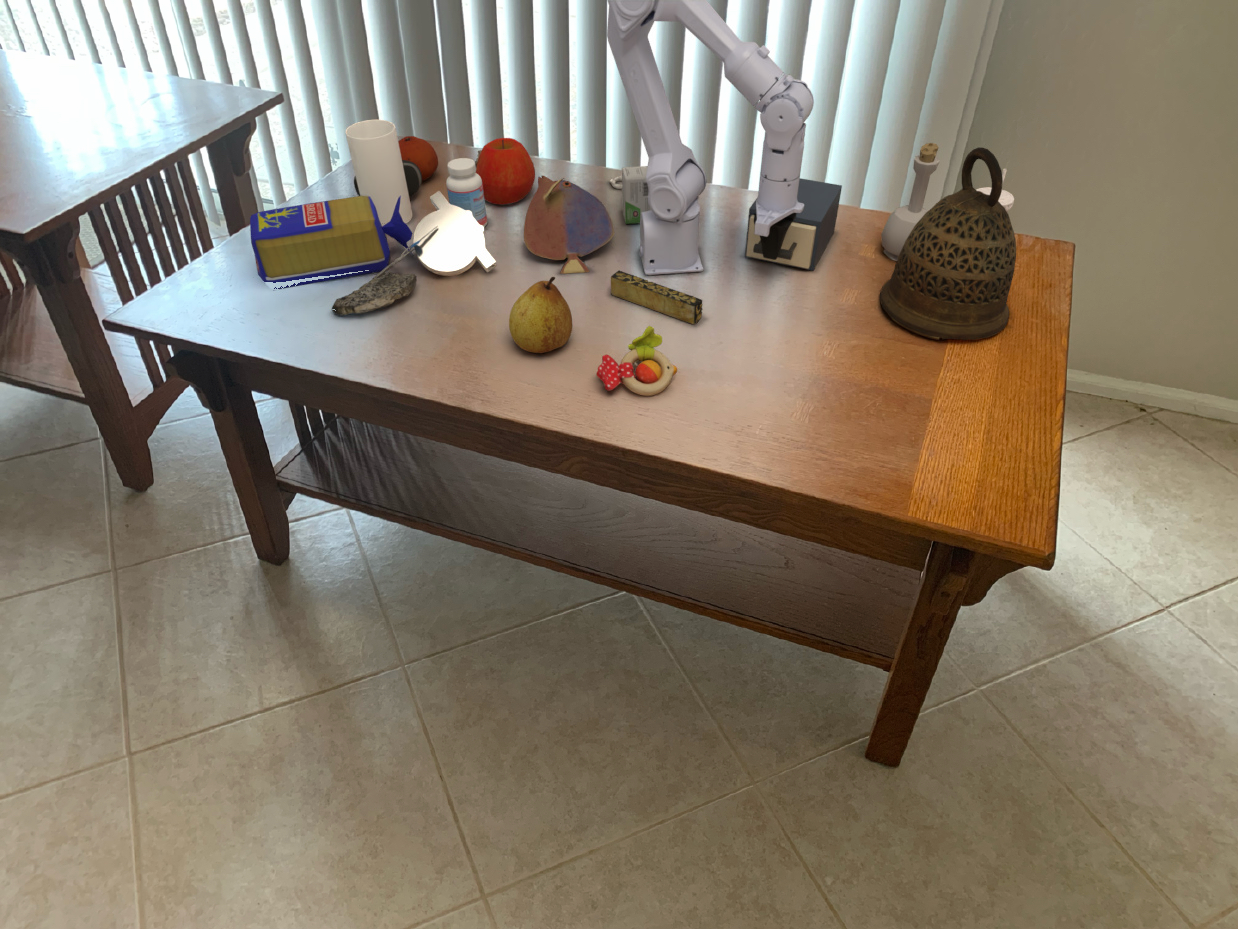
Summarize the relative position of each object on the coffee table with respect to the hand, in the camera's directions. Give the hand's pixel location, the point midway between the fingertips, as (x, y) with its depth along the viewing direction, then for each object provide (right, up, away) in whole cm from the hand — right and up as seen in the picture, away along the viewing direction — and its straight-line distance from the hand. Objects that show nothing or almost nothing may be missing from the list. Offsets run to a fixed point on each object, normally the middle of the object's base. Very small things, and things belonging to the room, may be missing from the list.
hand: (770, 257), depth 133 cm
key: (-20, +19, +26) cm, 38 cm away
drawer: (+4, +3, +8) cm, 10 cm away
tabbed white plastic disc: (-47, +6, +9) cm, 49 cm away
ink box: (-23, +15, +16) cm, 32 cm away
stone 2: (-50, +27, +29) cm, 64 cm away
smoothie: (+36, +3, +9) cm, 37 cm away
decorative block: (-18, -8, -1) cm, 20 cm away
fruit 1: (-62, +23, +32) cm, 74 cm away
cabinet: (+5, +5, +11) cm, 14 cm away
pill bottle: (-50, +10, +19) cm, 54 cm away
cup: (-65, +12, +21) cm, 69 cm away
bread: (-72, 0, +12) cm, 73 cm away
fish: (-32, +5, +12) cm, 34 cm away
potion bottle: (+24, +3, +9) cm, 26 cm away
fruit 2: (-35, -15, -8) cm, 38 cm away
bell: (+25, -9, -3) cm, 27 cm away
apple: (-44, +17, +26) cm, 54 cm away
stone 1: (-62, -3, -2) cm, 62 cm away
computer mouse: (-66, +20, +25) cm, 73 cm away
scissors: (-58, 0, +3) cm, 58 cm away
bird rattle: (-17, -22, -18) cm, 33 cm away
